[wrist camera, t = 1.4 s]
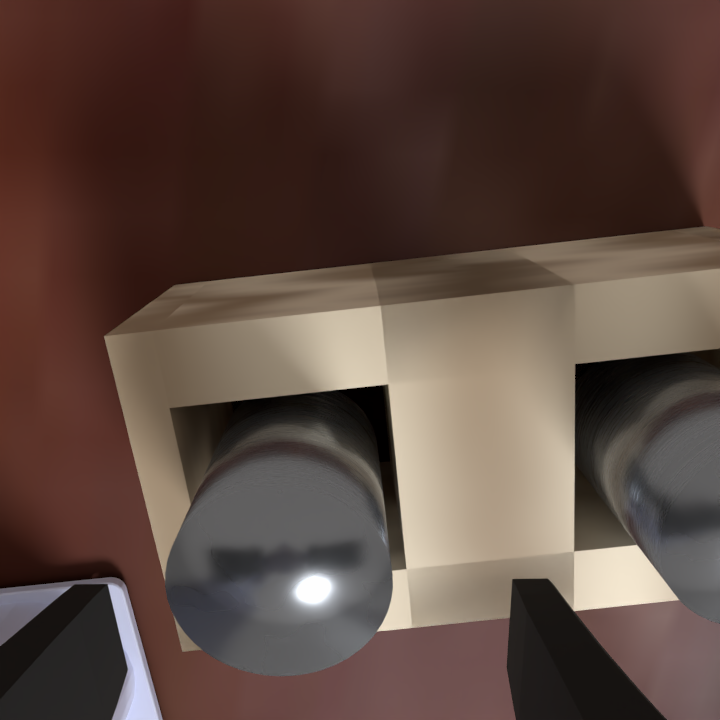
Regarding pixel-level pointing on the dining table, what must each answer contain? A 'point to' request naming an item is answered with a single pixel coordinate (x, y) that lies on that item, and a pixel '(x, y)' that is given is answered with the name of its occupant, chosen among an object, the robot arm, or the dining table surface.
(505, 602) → the block
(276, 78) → the dining table surface
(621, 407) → the peg
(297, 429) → the peg
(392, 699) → the dining table surface
